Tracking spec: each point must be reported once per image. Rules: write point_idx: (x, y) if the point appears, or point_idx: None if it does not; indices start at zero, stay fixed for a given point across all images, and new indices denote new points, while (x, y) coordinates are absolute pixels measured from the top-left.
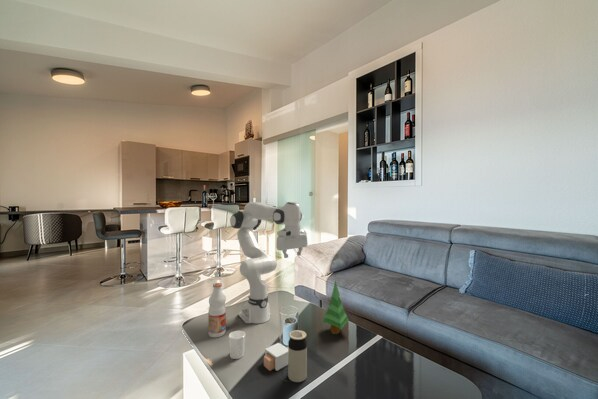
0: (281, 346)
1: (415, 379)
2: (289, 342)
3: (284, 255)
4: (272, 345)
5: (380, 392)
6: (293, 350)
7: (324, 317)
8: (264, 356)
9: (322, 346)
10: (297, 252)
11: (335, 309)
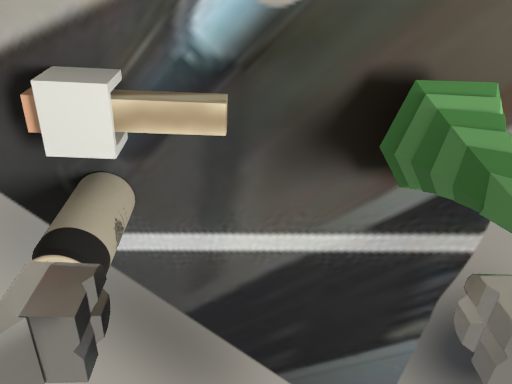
0: (100, 116)
1: (325, 365)
2: (33, 256)
3: (9, 308)
4: (71, 82)
5: (229, 340)
6: None
7: (423, 104)
8: (21, 97)
9: (292, 148)
10: (503, 341)
11: (442, 190)
